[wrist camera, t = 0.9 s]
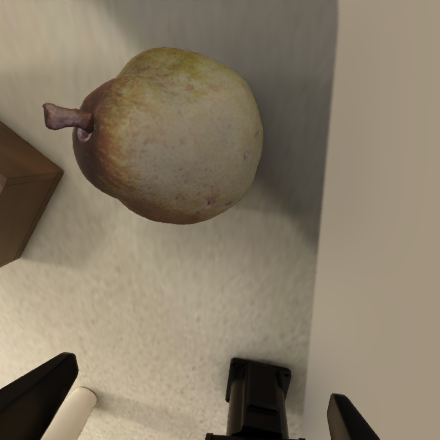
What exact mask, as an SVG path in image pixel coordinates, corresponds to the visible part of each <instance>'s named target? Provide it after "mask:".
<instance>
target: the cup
mask: <svg viewBox="0 0 440 440" xmlns="http://www.w3.org/2000/svg"><path fill="white" fill-rule="evenodd" d="M96 402H97V398H96V396H95V394H94V393H93V392H92V391H90V390H89V389H86V388H82V387H80V388H76V389H75V390H74V391H73V392H72V394H71V395H70V396H69V397H68V398H67V399H66V400H65V401H64V403H63V404H62V405H61V406H60V408H59V410H58V412H57V413H56V415H55V417H54V419H53V420H52V422H51V424H50V426H49V427H48V429H47V430H46V432H45V434H44V435H43V437H42V438H41V440H77V439H78V437H79V436H80V434H81V432H82V430H83V428H84V426H85V424H86V422H87V420H88V418H89V416H90V414H91V412H92V410H93V408H94V406H95V404H96Z"/></svg>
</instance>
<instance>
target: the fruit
mask: <svg viewBox="0 0 440 440" xmlns="http://www.w3.org/2000/svg"><path fill="white" fill-rule="evenodd" d="M43 108H44V117H45V124H46V127H47V128H49V129H52V130H58V129H62V128H65V127H73V134H72V139H73V150H74V154H75V157H76V161H77V163H78V165H79V168H80V170H81V171H82V173H83V175H84V176H85V177H86V179H87V180H88V181H89V182H91V183H92V184H93V185H94V186H95V187H96V188H98V189H99V190H101V191H102V192H104V193H106V194H108V195H110V196H112V197H114V198H117V199H119V200H120V201H121V202H122V203H123V204H124V205H125V206H126V207H127V208H128V209H129V210H131V211H133V212H134V213H136V214H138V215H140V216H142V217H145V218H147V219H150V220H153V221H157V222H163V223H172V224H182V225H184V224H194V223H198V222H202V221H205V220H208V219H210V218H213V217H215V216H217V215H219V214H221V213H223V212H225V211H226V210H228V209H229V208H230V207H232V206H233V205H234V204H236V203H237V202H238V201H239V200H240V199H241V198H242V197H243V196H244V195H245V193H246V192H247V191H248V190H249V188H250V186H251V185H252V182H253V180H254V177H255V174H256V170H257V167H258V164H259V161H260V157H261V153H262V147H263V127H262V122H261V118H260V114H259V110H258V107H257V104H256V101H255V98H254V95H253V93H252V91H251V89H250V87H249V85H248V84H247V82H246V81H245V80H244V79H243V78H242V77H241V76H240V75H238V74H237V73H236V72H234V71H233V70H232V69H230V68H228V67H226V66H224V65H222V64H220V63H218V62H216V61H214V60H212V59H210V58H208V57H206V56H203V55H200V54H197V53H194V52H190V51H185V50H181V49H176V48H165V47H163V48H153V49H150V50H147V51H144V52H142V53H140V54H138V55H137V56H135V57H134V58H132V59H131V60H130V61H129V62H128V63H127V64H126V65H125V67H124V68H123V69H122V71H121V72H120V73H119V75H118V76H117V77H116V78H114V79H112V80H110V81H108V82H106V83H104V84H103V85H101V86H100V87H98V88H97V89H96V90H94V91H93V92H92V93H90V94H89V95H88V96H87V97H86V98H85V99H84V101H83V103H82V105H81V107H80V110H78V109H68V108H63V107H59V106H56V105H54V104H51V103H45V104H43Z"/></svg>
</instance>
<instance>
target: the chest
mask: <svg viewBox="0 0 440 440" xmlns="http://www.w3.org/2000/svg"><path fill="white" fill-rule="evenodd" d="M63 172H64V171H63V170H61V169H60V168H59V167H58V166H56V165H55V164H54V163H52V162H51V161H50V160H49V159H47V158H46V157H45V156H44V155H42V154H41V153H40V152H38V151H37V150H36V149H35V148H33V147H32V146H31V145H30V144H28V143H27V142H26V141H25V140H23V139H22V138H21V137H19V136H18V135H17V134H16V133H14V132H13V131H12V130H11V129H9V128H8V127H7V126H6V125H4V124H3V123H2V122H0V267H2V266H4V265H6V264H8V263H10V262H12V261H15V260H17V259H19V257H20V256H21V254H22V252H23V250H24V248H25V246H26V244H27V242H28V240H29V238H30V236H31V234H32V232H33V230H34V228H35V226H36V224H37V223H38V221H39V219H40V217H41V215H42V213H43V211H44V209H45V207H46V205H47V203H48V201H49V199H50V197H51V195H52V193H53V191H54V189H55V188H56V186H57V184H58V182H59V180H60V178H61V176H62V174H63Z"/></svg>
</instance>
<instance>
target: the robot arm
mask: <svg viewBox="0 0 440 440" xmlns="http://www.w3.org/2000/svg"><path fill="white" fill-rule="evenodd" d="M78 371H79V369H78V364H77V360H76V356H75V354H74V353H68V352H63V353H61V354H59V355H57V356H56V357H54V358H52V359H51V360H49V361H47V362H46V363H44V364H42V365H40V366H39V367H37V368H35V369H34V370H32V371H30V372H29V373H27V374H25V375H24V376H22V377H20V378H18V379H17V380H15V381H13V382H12V383H10V384H8V385H7V386H5V387H3V388H2V389H0V440H41V438H42V437H43V435H44V434H45V432H46V430H47V429H48V427H49V426H50V424H51V422H52V420H53V419H54V417H55V415H56V413H57V412H58V410H59V408H60V406H61V405H62V403H63V401H64V399H65V397H66V396H67V394H68V392H69V390H70V389H71V387H72V385H73V383H74V381H75V380H76V378H77V375H78ZM290 380H291V371H290V370H289V369H287V368H283V367H278V366H272V365H267V364H262V363H257V362H252V361H247V360H242V359H237V358H233V359H231V363H230V370H229V377H228V384H227V391H226V398H225V400H226V402H228V403H229V412H228V422H227V432H226V435H213V433H207V434H206V438H205V440H298V439H289V435H288V426H287V418H286V409H285V399H286V395H287V391H288V387H289V384H290ZM327 419H328V424H329V430H330V436H331V440H380V439H379V437H378V436H377V435H376V433H375V432H374V431H373V430H372V428H371V427H370V426H369V425H368V423H367V422H366V421H365V419H364V418H363V417H362V415H361V414H360V413H359V412H358V410H357V409H356V408H355V407H354V405H353V404H352V403H351V401H350V400H349V399H348V398H347V397H346V396H345V395H342V394H335V393H333V394H331V397H330V401H329V406H328V410H327ZM299 440H305V438H299Z"/></svg>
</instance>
